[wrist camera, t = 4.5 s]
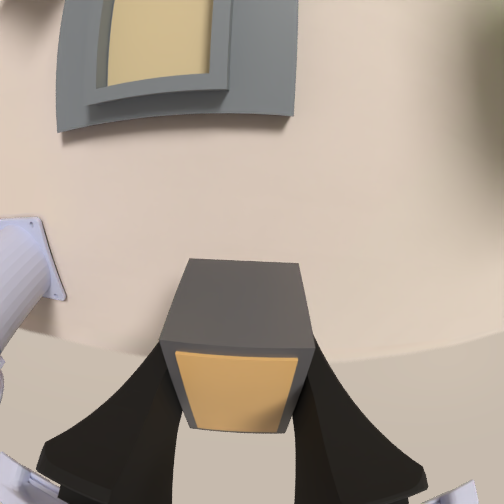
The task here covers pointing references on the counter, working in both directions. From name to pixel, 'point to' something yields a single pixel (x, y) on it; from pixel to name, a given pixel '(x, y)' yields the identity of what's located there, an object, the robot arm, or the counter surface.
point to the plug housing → (238, 344)
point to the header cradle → (174, 59)
